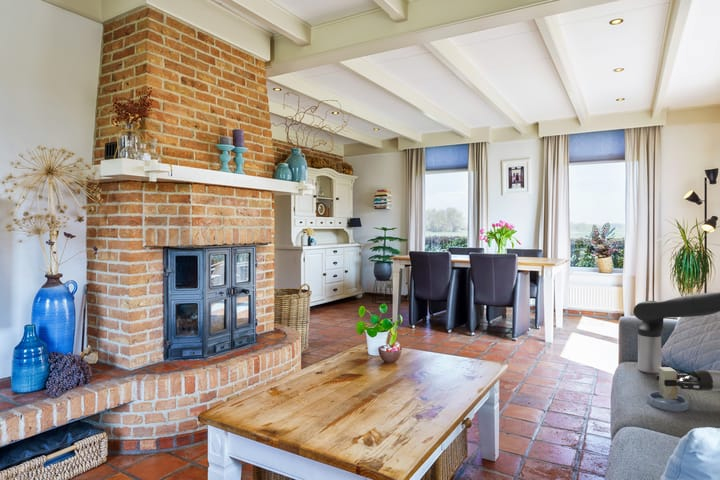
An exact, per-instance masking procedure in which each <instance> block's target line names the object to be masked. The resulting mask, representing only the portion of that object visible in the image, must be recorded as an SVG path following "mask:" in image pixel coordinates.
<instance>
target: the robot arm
mask: <svg viewBox="0 0 720 480" xmlns="http://www.w3.org/2000/svg"><path fill="white" fill-rule="evenodd" d="M632 312H633V314H634V317H635V318H636V319H637V320H639V321H641V324H640V325H639V326H638V328H637V369H638V370H639V371H640V372H643V373H647V374H655V380H656V381H658V382H659V367H662V331H663V328H664V319H665V318H690V317H691V318H692V317H694V318H695V317H700V316H701V317H702V316H708V315H713V314H717V313H720V291H719V292H717V291H716V292H705V293H704V292H703V293H695V294H694V293H693V294H688V295H683V296H679V297H674V298H672V299H667V300H662V301H656V300H646V301H641V302H638V303H637V304H636V305H635V306H634V308H633V311H632ZM675 371H676V374H677V380H676V381H675V380H664V385H665V386H676V387H677V388H680V389H681V390H688V391H689V390H691V391H712V392H713V391H715V392H716V391H720V370H713V369H712V370H711V369H710V370H709V369H707V370H705V369H704V370H703V369H702V370H701V369H696V370H695V369H694V370H691V371H690V372H689V373H688V374H687V373H681V372H680V371H679V370H675Z"/></svg>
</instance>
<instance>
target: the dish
mask: <svg viewBox="0 0 720 480" xmlns="http://www.w3.org/2000/svg"><path fill="white" fill-rule="evenodd" d="M646 400H647V403H648V404H649V405H650V406H653V407H655V408H658V409H660V410H665V411H669V412H684V411H688V410H689V399H688V398H686V397H685V396H683V395H680V394H678V393H677V399H665V398H664V397H663V396H661V395H660V390H653V391H649V392H647V396H646Z"/></svg>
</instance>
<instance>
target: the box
mask: <svg viewBox="0 0 720 480" xmlns="http://www.w3.org/2000/svg"><path fill="white" fill-rule="evenodd" d="M676 371H677V370H675V369H673V368H672V367H670V366H668V367H667V366H661V367H659V373H658V375H659V381H658V385H659V387H658V388H659V391H660V395H661V396H663V397H664V398H665V399H677V394H678V387H676V386H665V385H664V380H675V381H676V380H677V374H676Z"/></svg>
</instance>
